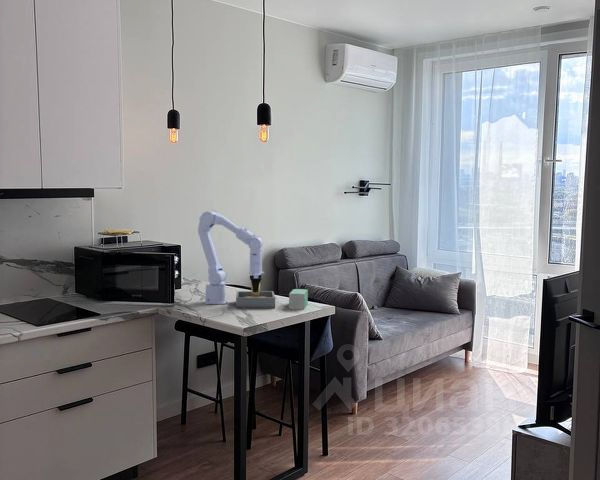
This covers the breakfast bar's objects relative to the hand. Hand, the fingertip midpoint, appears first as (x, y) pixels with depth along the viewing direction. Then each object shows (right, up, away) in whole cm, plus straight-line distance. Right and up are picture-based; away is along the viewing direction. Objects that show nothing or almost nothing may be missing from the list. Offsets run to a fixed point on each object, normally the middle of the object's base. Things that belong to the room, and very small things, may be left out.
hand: (255, 291), depth 287 cm
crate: (0, -7, +1) cm, 6 cm away
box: (+20, -7, -1) cm, 22 cm away
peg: (0, -2, 0) cm, 2 cm away
